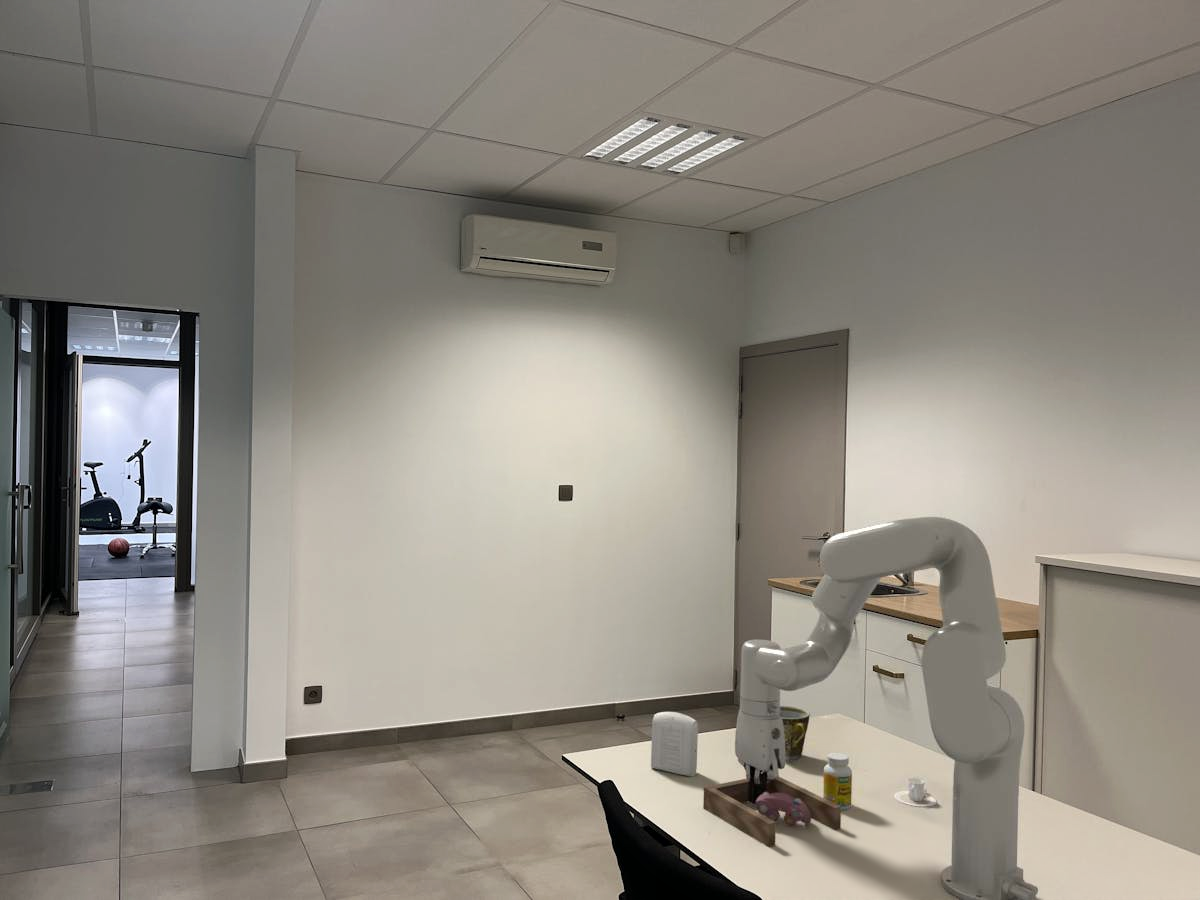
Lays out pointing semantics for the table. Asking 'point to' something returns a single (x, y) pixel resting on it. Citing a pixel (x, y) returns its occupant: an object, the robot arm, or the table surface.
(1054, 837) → the table surface
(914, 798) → the teacup and saucer
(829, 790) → the supplement bottle
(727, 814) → the frame
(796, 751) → the ceramic cup
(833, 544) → the robot arm
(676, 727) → the photo printer
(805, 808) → the video game controller
